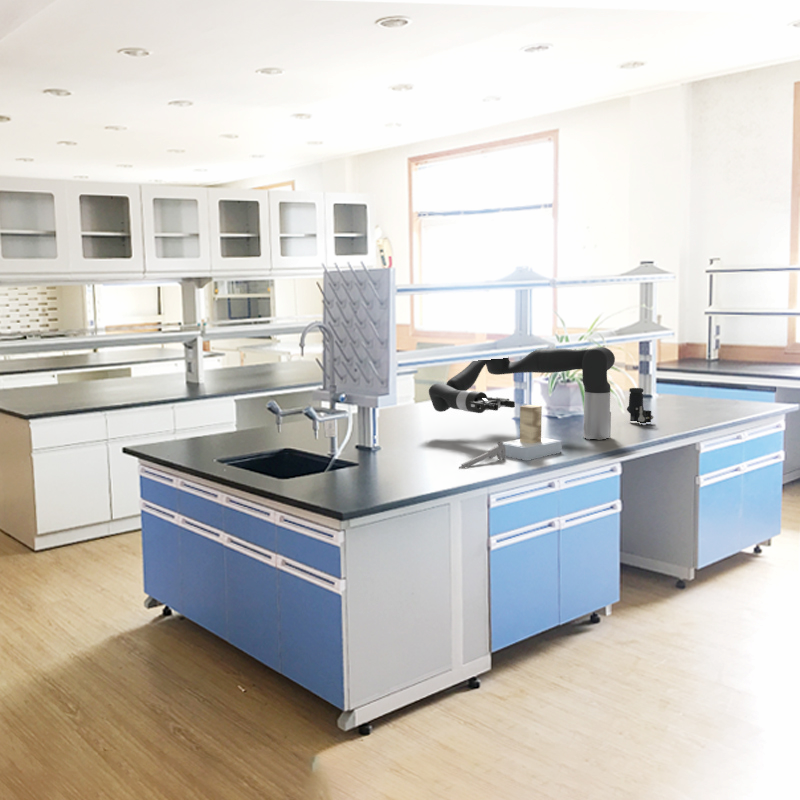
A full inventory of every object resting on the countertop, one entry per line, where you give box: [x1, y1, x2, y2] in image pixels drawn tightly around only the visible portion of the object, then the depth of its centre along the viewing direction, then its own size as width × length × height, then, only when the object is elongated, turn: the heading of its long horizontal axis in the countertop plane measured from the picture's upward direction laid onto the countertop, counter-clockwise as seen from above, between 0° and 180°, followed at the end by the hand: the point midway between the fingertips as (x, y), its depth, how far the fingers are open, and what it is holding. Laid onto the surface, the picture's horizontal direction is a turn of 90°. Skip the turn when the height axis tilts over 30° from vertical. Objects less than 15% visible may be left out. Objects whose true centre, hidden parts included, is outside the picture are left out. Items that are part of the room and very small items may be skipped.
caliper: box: [458, 440, 507, 469], centre depth 270 cm, size 20×1×6 cm, turn 130°
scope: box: [626, 387, 654, 423], centre depth 338 cm, size 8×14×10 cm
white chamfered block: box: [500, 436, 563, 461], centre depth 284 cm, size 18×12×4 cm, turn 131°
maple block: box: [519, 404, 543, 444], centre depth 283 cm, size 5×5×12 cm
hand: (505, 405), depth 290 cm, fingers open, 8 cm apart
